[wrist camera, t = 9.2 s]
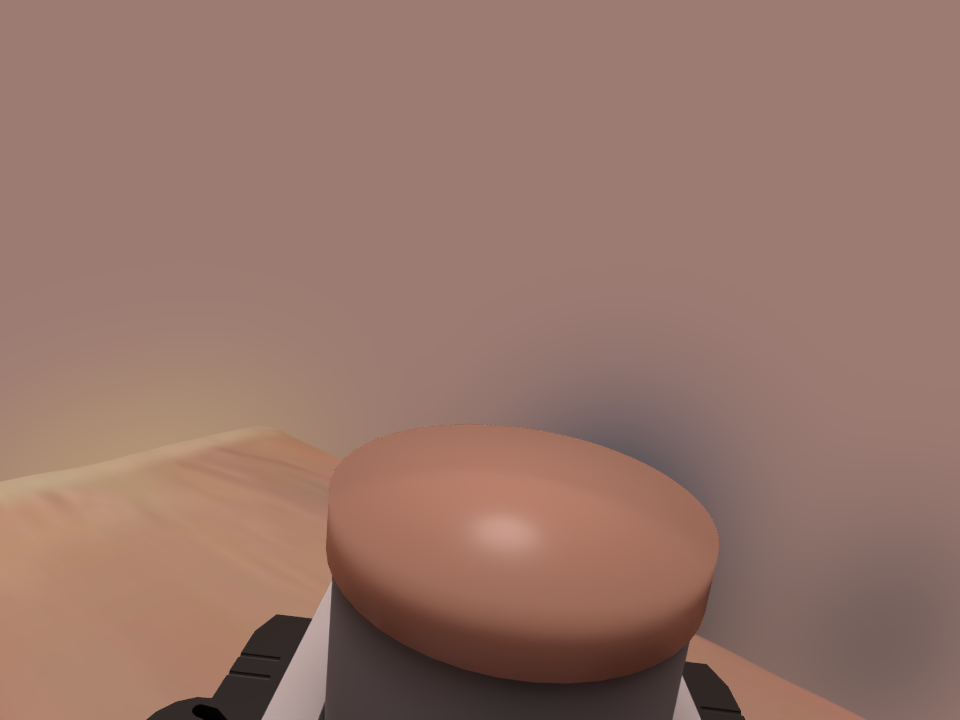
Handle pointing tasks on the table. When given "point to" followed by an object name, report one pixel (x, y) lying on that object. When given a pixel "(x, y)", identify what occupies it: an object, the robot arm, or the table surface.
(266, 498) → the table surface
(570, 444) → the canister
